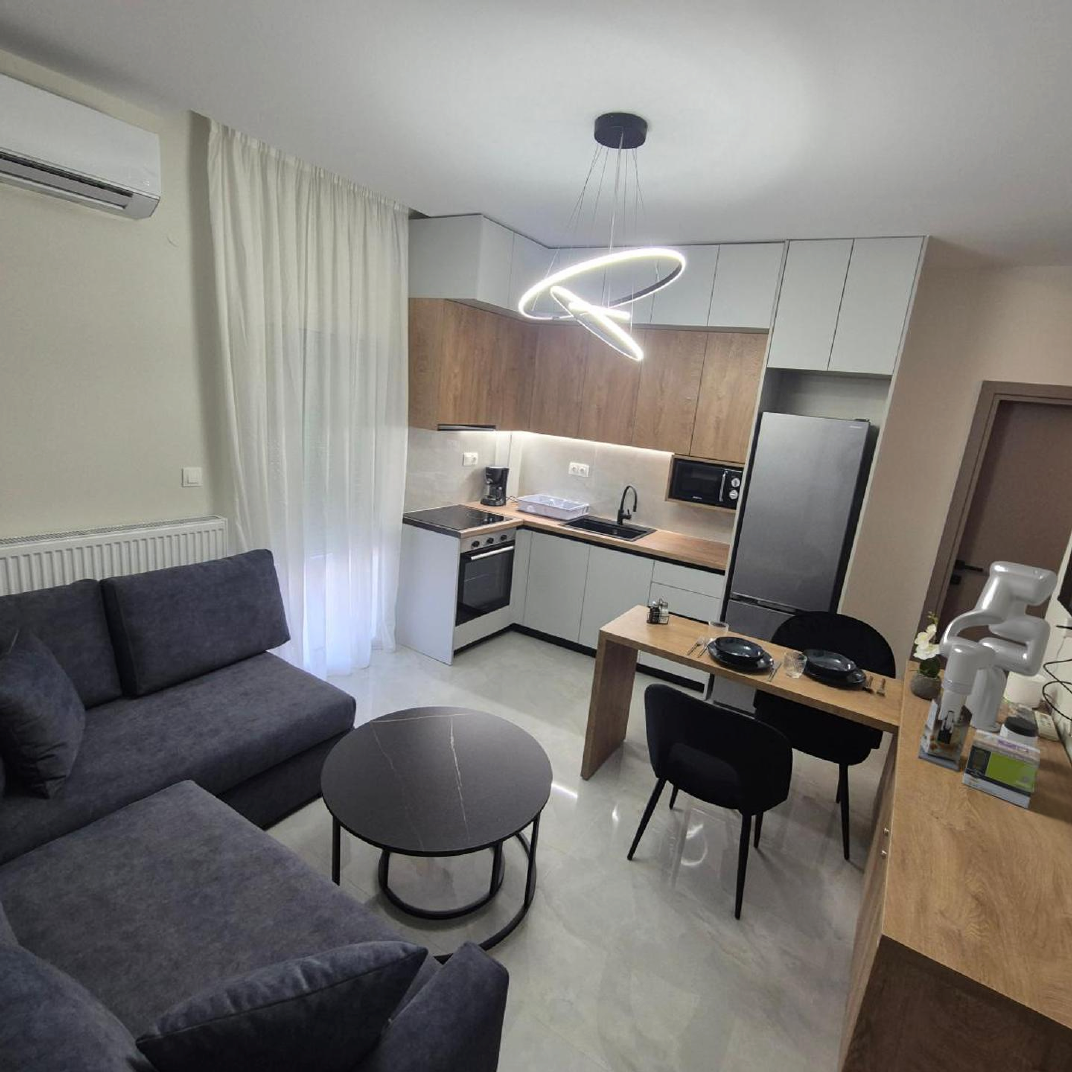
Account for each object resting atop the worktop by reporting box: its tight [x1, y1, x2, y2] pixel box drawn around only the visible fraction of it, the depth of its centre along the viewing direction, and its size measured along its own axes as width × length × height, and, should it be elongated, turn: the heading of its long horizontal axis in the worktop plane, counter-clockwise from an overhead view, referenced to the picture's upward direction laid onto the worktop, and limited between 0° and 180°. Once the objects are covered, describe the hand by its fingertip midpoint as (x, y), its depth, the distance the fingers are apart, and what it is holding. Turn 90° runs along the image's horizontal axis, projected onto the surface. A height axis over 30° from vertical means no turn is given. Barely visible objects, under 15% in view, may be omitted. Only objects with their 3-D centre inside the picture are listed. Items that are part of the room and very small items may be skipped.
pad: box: [917, 744, 959, 772], centre depth 180 cm, size 12×10×1 cm
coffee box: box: [920, 698, 973, 762], centre depth 178 cm, size 9×6×16 cm
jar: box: [999, 716, 1039, 747], centre depth 182 cm, size 9×8×12 cm
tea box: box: [962, 728, 1042, 809], centre depth 164 cm, size 15×10×15 cm
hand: (943, 736), depth 178 cm, fingers closed on coffee box, 7 cm apart
